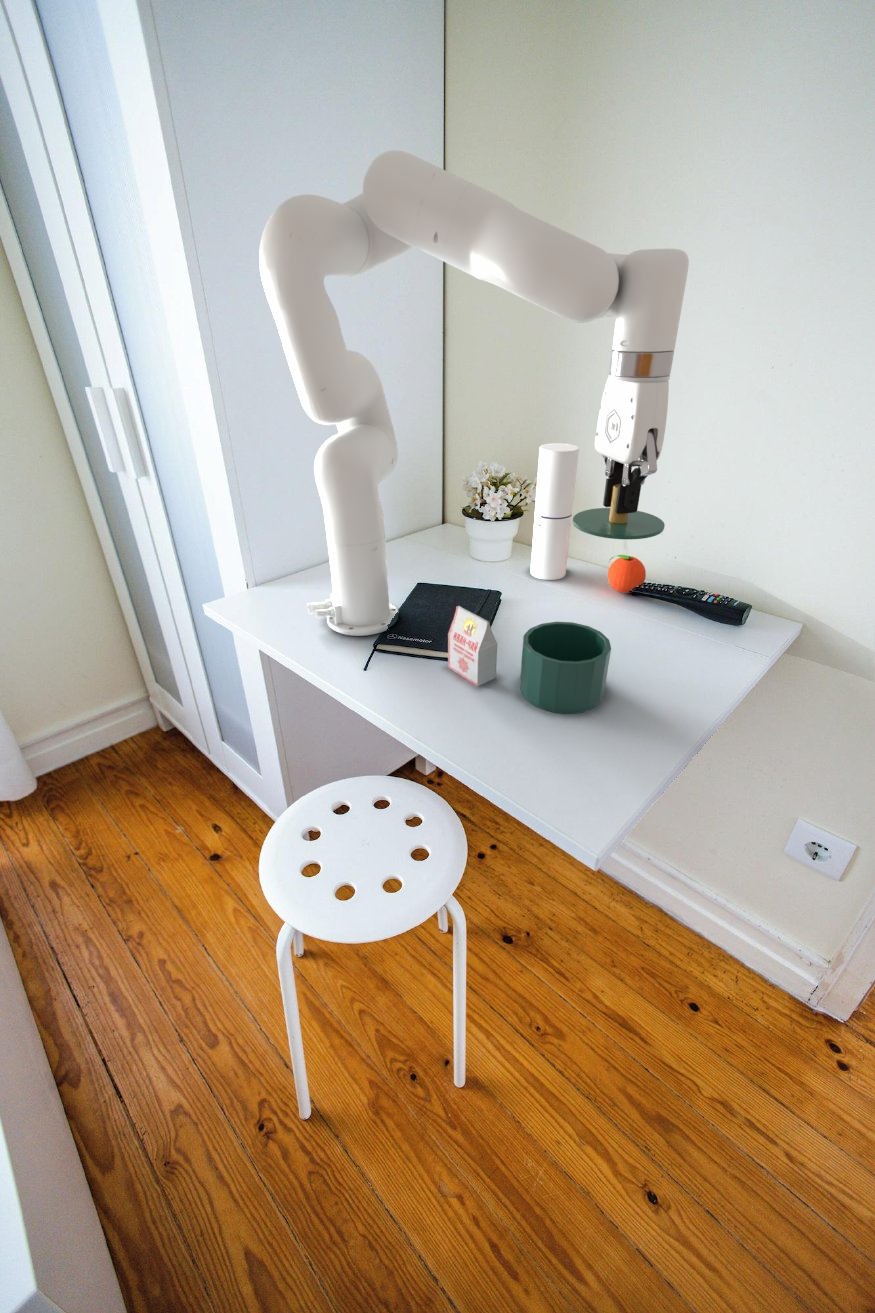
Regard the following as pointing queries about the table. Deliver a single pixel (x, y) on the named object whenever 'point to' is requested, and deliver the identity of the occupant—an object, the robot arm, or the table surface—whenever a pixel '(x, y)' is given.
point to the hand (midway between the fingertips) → (619, 508)
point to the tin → (564, 667)
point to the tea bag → (472, 647)
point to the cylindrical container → (553, 509)
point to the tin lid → (618, 522)
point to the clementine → (626, 573)
